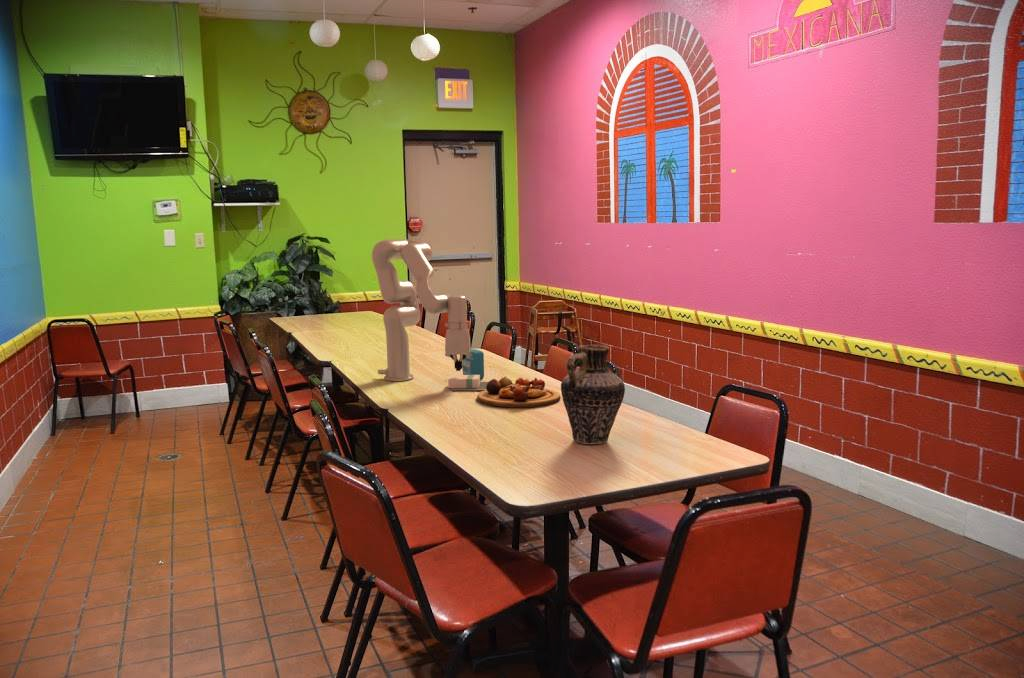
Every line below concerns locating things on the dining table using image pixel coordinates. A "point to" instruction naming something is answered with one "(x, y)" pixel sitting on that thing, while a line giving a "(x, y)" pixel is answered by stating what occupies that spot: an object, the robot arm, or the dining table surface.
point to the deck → (464, 381)
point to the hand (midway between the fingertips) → (458, 370)
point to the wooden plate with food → (517, 393)
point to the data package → (474, 363)
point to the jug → (591, 395)
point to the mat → (481, 388)
